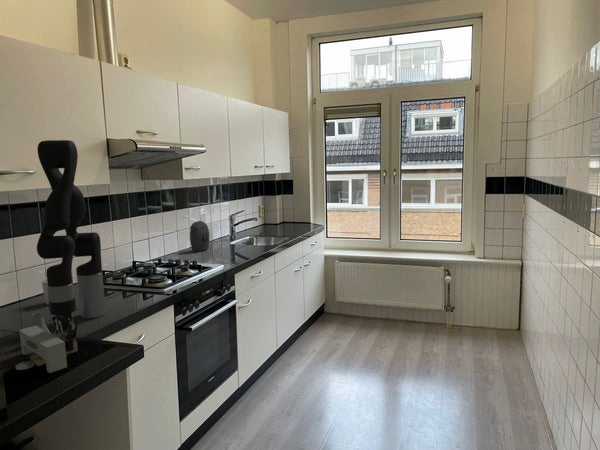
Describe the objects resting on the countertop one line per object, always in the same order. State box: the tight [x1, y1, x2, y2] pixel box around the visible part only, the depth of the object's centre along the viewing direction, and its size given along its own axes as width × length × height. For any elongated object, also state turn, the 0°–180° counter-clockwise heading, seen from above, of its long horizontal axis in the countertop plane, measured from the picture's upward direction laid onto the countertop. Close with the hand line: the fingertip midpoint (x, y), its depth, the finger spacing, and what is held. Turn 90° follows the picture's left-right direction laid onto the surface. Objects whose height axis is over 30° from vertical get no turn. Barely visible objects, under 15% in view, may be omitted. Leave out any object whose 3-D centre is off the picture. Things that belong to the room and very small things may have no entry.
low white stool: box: [18, 325, 68, 374], centre depth 144 cm, size 22×6×8 cm, turn 49°
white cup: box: [41, 279, 49, 306], centre depth 202 cm, size 8×8×10 cm
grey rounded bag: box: [189, 220, 210, 252], centre depth 304 cm, size 15×8×20 cm, turn 150°
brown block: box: [29, 330, 78, 367], centre depth 146 cm, size 6×12×7 cm, turn 139°
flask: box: [32, 311, 52, 334], centre depth 159 cm, size 7×7×10 cm
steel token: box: [15, 360, 36, 371], centre depth 141 cm, size 5×5×1 cm
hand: (67, 348), depth 150 cm, fingers closed on brown block, 3 cm apart
